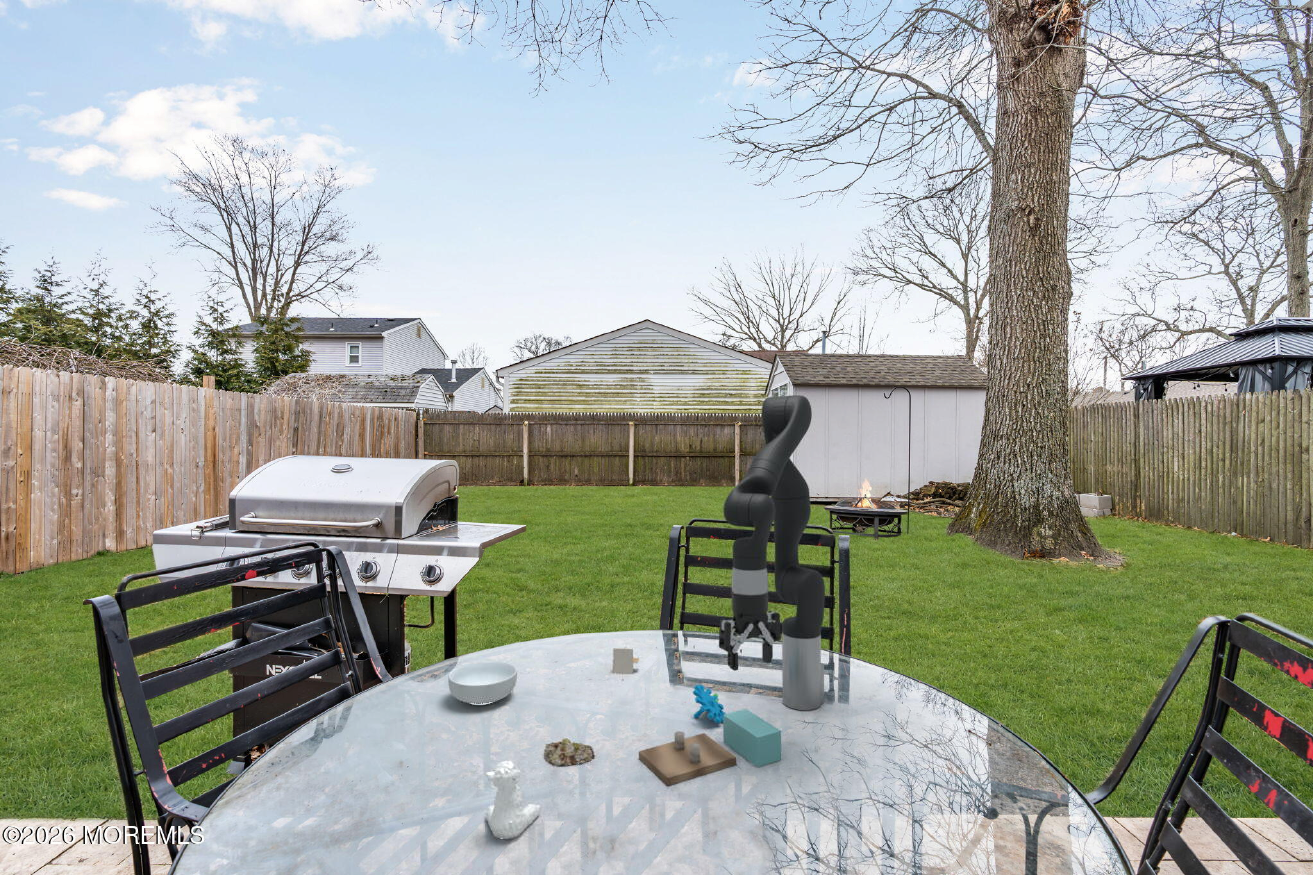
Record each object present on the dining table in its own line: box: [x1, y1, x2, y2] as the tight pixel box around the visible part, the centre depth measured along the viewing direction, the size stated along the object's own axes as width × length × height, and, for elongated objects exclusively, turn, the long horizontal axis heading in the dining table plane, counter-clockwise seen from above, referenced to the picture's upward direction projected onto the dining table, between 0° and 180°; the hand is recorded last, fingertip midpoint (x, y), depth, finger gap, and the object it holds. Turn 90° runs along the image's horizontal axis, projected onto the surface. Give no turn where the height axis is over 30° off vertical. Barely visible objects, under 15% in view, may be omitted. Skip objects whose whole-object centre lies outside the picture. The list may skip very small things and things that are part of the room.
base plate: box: [638, 730, 738, 787], centre depth 137 cm, size 16×12×4 cm
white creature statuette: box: [485, 760, 542, 840], centre depth 115 cm, size 10×9×12 cm
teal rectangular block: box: [722, 708, 782, 768], centre depth 141 cm, size 6×12×6 cm, turn 29°
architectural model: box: [612, 646, 640, 675], centre depth 186 cm, size 3×7×7 cm, turn 84°
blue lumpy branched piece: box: [692, 683, 727, 724], centre depth 156 cm, size 11×6×10 cm
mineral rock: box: [544, 737, 596, 767], centre depth 139 cm, size 11×4×8 cm
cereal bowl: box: [448, 660, 518, 704], centre depth 168 cm, size 17×17×7 cm
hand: (750, 665), depth 140 cm, fingers open, 8 cm apart
